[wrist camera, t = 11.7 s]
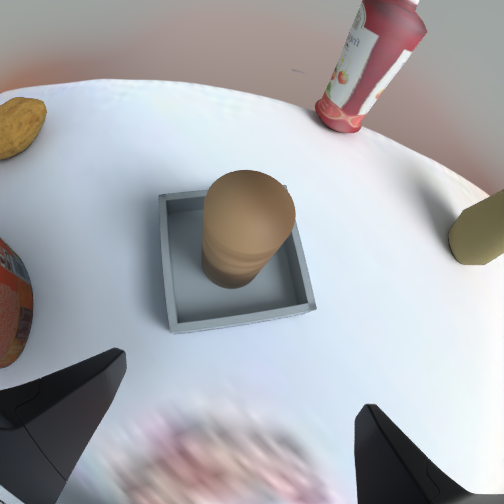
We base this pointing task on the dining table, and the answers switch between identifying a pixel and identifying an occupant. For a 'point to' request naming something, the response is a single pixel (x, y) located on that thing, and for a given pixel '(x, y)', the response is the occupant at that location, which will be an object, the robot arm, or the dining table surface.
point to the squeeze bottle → (479, 232)
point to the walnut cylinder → (243, 226)
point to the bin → (217, 298)
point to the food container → (13, 305)
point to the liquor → (369, 61)
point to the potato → (19, 124)
